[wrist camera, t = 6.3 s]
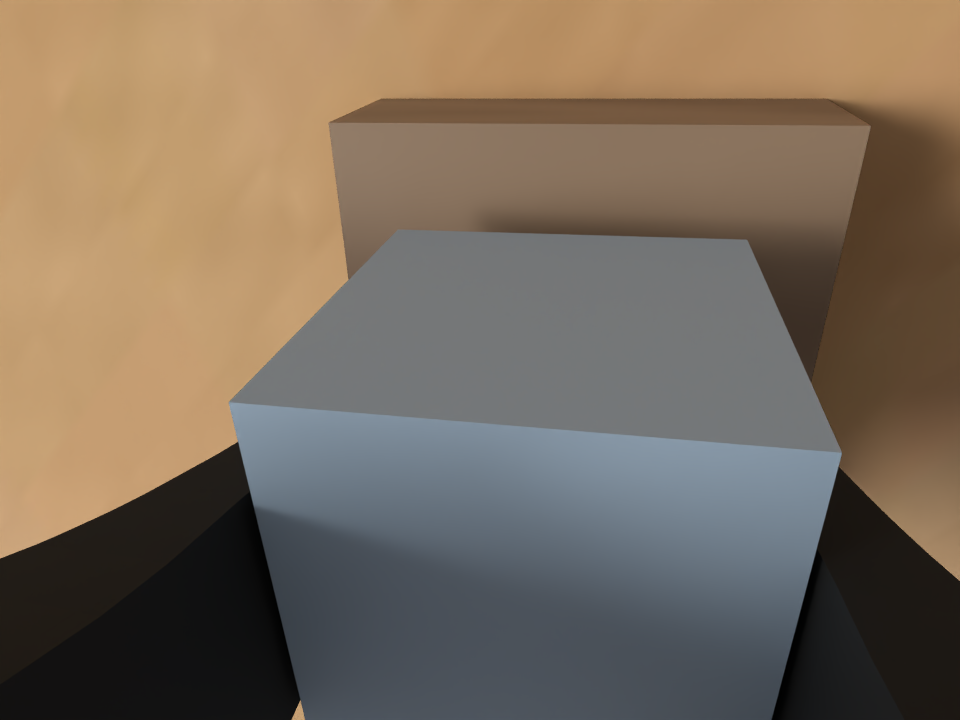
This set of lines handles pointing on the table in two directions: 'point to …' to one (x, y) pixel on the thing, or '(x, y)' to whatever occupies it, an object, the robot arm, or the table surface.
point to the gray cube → (540, 482)
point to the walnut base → (614, 179)
